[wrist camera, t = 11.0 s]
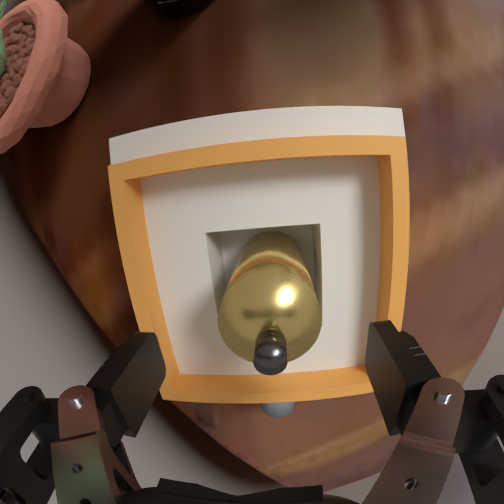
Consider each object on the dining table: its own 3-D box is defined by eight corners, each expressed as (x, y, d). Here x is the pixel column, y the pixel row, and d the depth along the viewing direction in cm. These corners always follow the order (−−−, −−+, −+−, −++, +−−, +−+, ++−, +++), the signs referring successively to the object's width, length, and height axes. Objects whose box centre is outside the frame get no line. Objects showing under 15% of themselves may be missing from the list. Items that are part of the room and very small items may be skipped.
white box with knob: (146, 145, 21) (91, 136, 14) (370, 123, 19) (415, 102, 12) (190, 381, 27) (168, 438, 19) (367, 372, 25) (388, 429, 18)
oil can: (237, 233, 21) (202, 292, 10) (301, 228, 20) (328, 284, 10) (243, 292, 22) (219, 386, 12) (304, 289, 21) (325, 381, 11)
